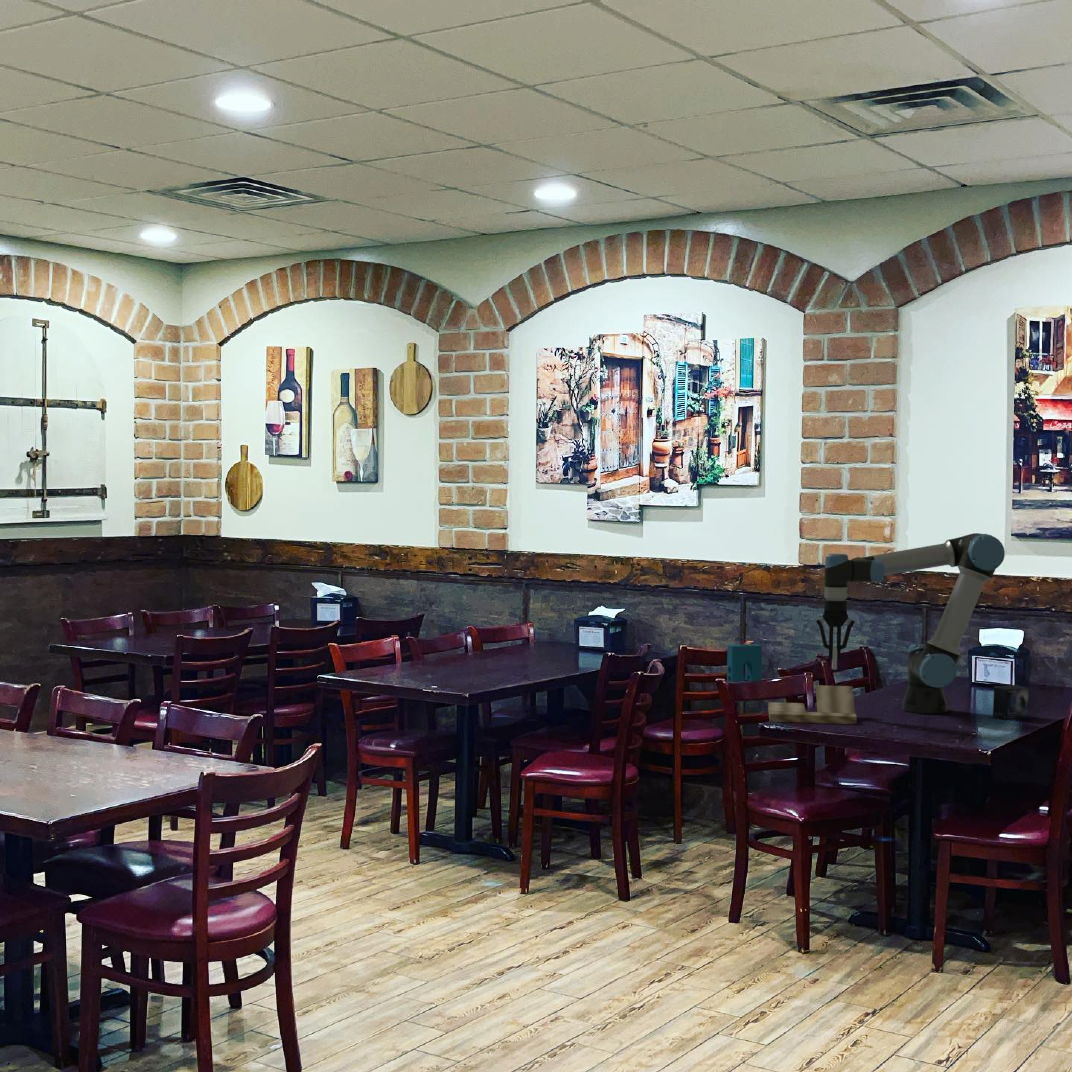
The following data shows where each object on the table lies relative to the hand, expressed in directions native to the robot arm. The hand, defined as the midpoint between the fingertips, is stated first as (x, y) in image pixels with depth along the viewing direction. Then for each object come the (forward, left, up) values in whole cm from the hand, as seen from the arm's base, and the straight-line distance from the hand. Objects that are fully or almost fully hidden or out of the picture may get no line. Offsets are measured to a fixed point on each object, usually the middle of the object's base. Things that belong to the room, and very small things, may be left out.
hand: (834, 668), depth 460 cm
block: (+30, -26, -16) cm, 43 cm away
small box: (-59, -7, -16) cm, 62 cm away
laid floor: (+8, +13, -16) cm, 22 cm away
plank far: (+16, +3, -15) cm, 22 cm away
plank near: (0, +3, -12) cm, 12 cm away
